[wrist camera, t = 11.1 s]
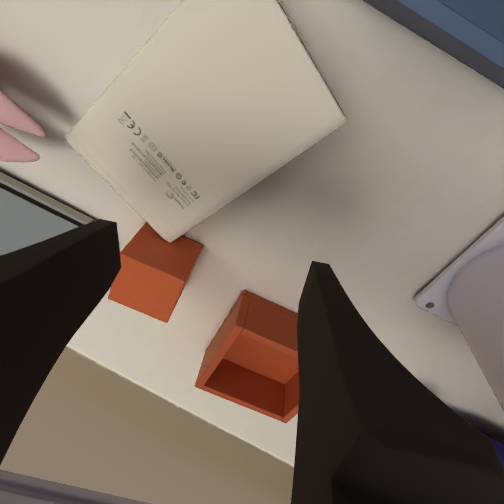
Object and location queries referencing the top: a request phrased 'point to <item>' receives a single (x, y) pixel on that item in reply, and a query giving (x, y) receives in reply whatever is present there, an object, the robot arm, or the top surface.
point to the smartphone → (31, 216)
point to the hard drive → (206, 112)
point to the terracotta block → (154, 272)
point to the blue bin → (456, 29)
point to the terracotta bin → (255, 359)
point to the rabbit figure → (8, 113)
